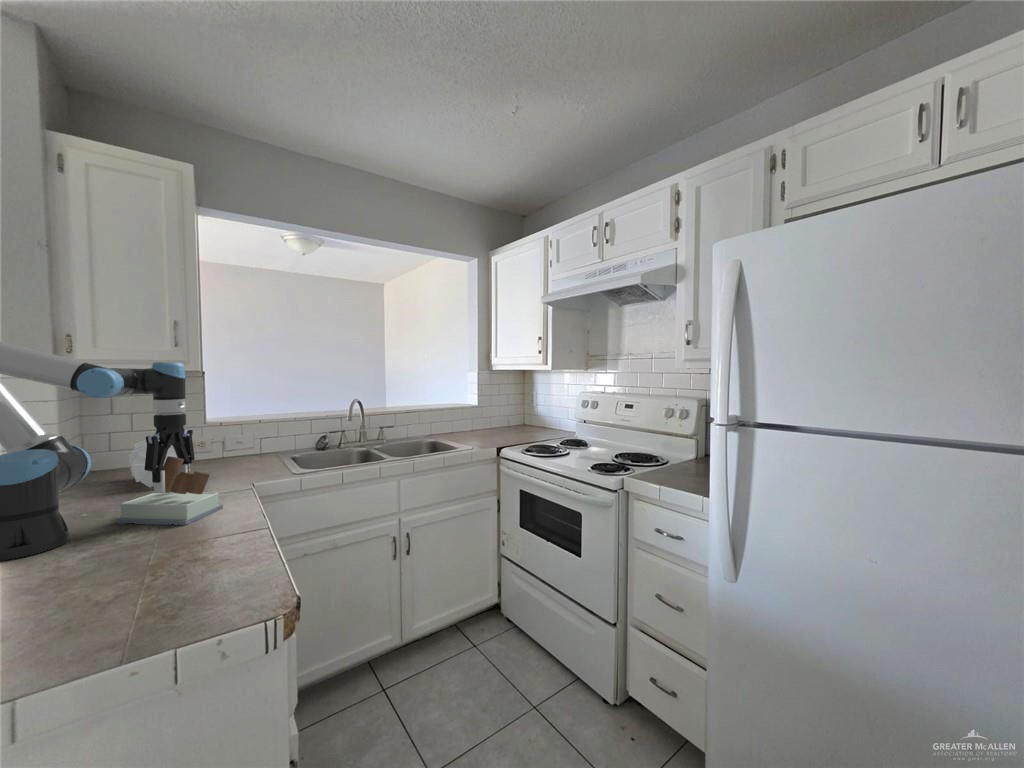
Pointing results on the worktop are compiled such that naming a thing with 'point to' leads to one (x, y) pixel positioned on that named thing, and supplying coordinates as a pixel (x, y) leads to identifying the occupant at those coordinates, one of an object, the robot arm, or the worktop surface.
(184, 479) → the wooden block set
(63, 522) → the robot arm
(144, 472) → the spiral staircase
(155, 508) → the base
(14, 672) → the worktop surface
